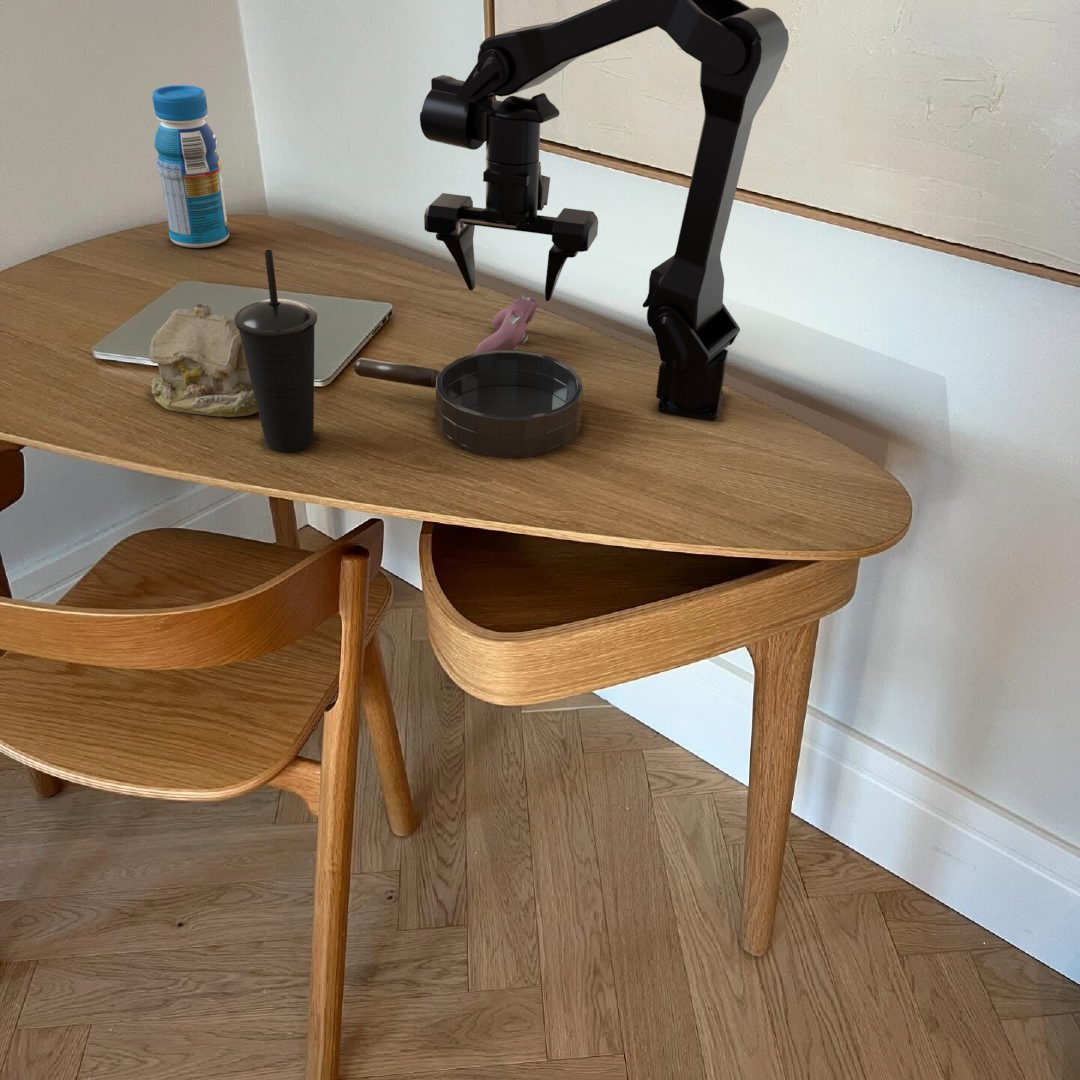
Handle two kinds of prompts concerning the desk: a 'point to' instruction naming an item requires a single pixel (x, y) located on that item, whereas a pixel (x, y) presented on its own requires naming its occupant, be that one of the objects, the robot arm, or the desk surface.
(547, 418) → the pan
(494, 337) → the video game controller
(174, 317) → the ceramic model
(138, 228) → the desk surface
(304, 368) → the drinking cup
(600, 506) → the desk surface
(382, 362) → the pan handle
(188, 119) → the beverage bottle
